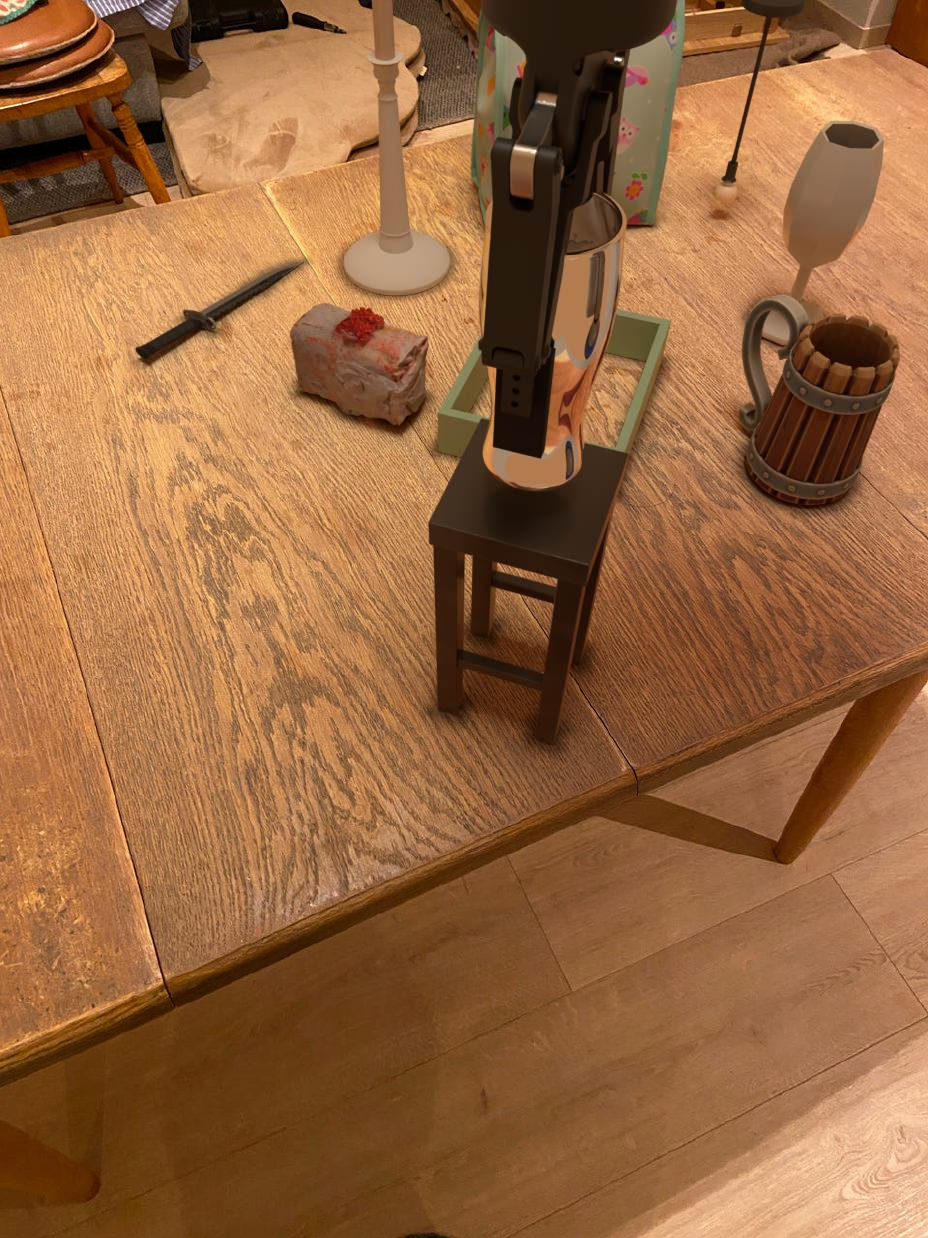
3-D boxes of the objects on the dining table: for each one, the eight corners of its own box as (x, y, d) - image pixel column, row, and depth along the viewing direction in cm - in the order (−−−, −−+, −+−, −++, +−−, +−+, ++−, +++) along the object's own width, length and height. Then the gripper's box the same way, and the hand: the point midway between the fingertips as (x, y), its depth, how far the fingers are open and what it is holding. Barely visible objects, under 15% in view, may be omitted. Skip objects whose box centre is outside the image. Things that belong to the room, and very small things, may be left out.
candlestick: (455, 238, 112) (455, -49, 88) (443, 298, 104) (440, 2, 80) (353, 232, 112) (326, -55, 88) (335, 291, 105) (299, -5, 81)
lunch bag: (631, 167, 123) (669, -72, 101) (663, 233, 113) (713, -16, 91) (465, 177, 121) (468, -64, 99) (483, 245, 111) (490, -6, 89)
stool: (587, 648, 75) (629, 452, 57) (555, 748, 69) (589, 565, 52) (474, 616, 77) (481, 417, 59) (434, 711, 71) (427, 522, 54)
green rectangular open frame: (662, 359, 98) (671, 319, 94) (615, 496, 86) (623, 457, 82) (505, 325, 101) (507, 285, 97) (438, 451, 89) (437, 412, 85)
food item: (440, 395, 94) (439, 313, 86) (403, 441, 90) (398, 360, 82) (329, 358, 98) (318, 276, 90) (288, 401, 93) (273, 319, 85)
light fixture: (715, 237, 113) (771, 10, 92) (682, 212, 116) (730, -12, 96) (756, 223, 115) (820, -1, 94) (723, 199, 118) (778, -23, 98)
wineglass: (821, 355, 99) (897, 164, 82) (742, 339, 100) (800, 148, 83) (829, 310, 104) (902, 121, 87) (753, 295, 105) (810, 107, 88)
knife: (283, 247, 109) (313, 257, 107) (286, 262, 110) (316, 272, 108) (123, 338, 96) (154, 352, 94) (129, 353, 97) (159, 367, 95)
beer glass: (476, 415, 56) (482, 175, 44) (588, 418, 56) (625, 179, 43) (473, 496, 51) (479, 256, 39) (594, 500, 51) (637, 260, 39)
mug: (875, 480, 87) (943, 351, 75) (800, 525, 84) (858, 397, 71) (759, 393, 95) (803, 263, 83) (685, 431, 91) (720, 301, 79)
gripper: (561, -187, 38) (526, 292, 57) (383, -21, 27) (412, 509, 45) (738, -169, 37) (643, 316, 55) (627, 15, 26) (554, 547, 44)
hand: (539, 403), depth 50 cm, fingers closed on beer glass, 7 cm apart
